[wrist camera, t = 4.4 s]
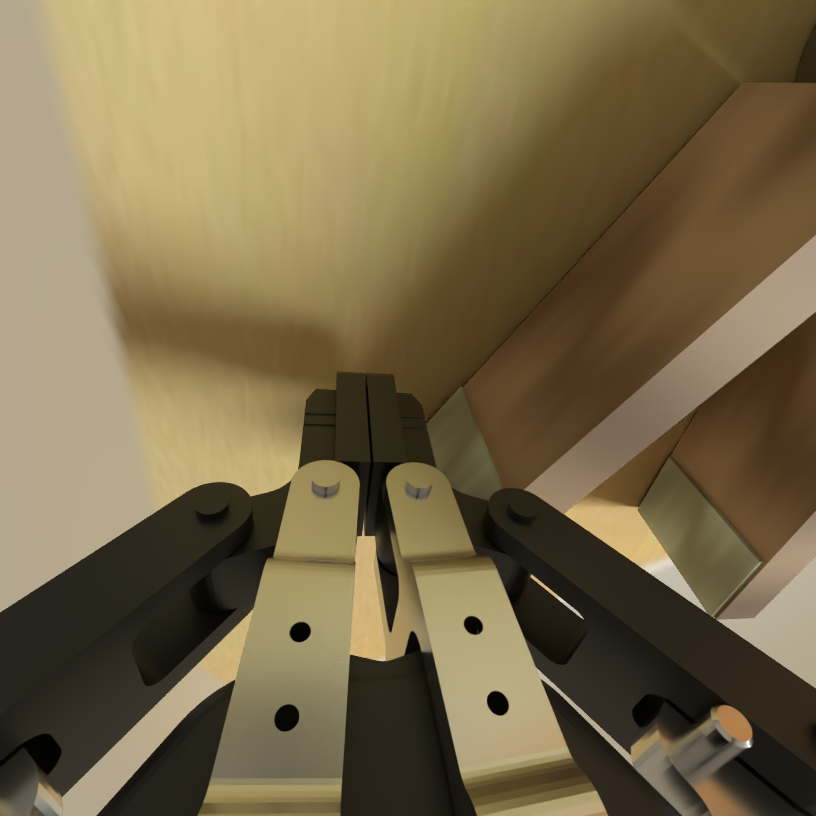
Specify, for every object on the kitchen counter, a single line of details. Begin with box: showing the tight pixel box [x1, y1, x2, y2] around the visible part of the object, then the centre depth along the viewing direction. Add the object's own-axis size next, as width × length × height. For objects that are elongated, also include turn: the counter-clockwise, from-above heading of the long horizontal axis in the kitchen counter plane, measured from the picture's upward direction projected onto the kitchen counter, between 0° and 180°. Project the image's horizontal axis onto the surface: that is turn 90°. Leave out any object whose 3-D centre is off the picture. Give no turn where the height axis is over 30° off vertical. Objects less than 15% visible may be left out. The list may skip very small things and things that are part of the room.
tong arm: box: [426, 82, 816, 514], centre depth 12 cm, size 13×2×5 cm, turn 143°
